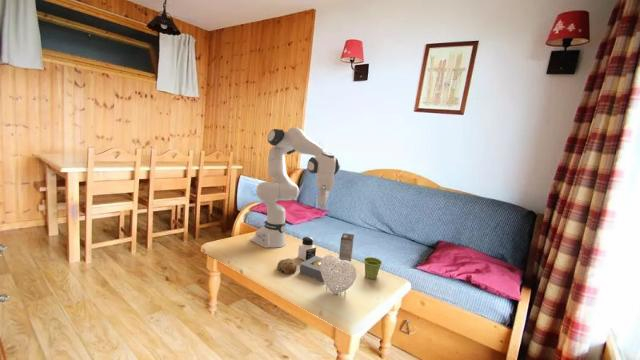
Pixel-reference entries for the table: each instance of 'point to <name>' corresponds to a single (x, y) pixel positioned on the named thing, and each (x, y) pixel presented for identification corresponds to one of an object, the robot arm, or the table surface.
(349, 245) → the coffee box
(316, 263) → the brass button
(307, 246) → the medicine bottle
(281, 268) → the bread roll
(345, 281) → the decorative heart
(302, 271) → the switch block
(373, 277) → the plant pot
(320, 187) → the robot arm
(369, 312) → the table surface
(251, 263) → the table surface
